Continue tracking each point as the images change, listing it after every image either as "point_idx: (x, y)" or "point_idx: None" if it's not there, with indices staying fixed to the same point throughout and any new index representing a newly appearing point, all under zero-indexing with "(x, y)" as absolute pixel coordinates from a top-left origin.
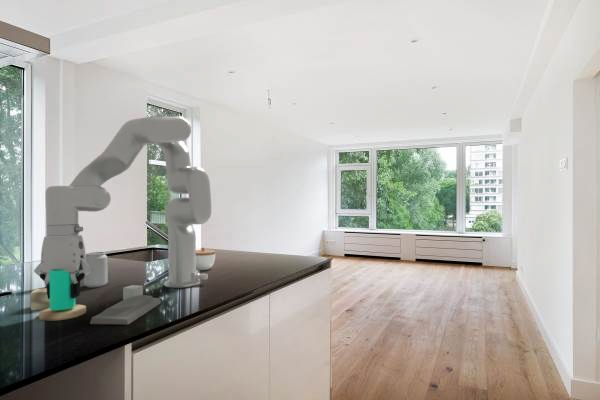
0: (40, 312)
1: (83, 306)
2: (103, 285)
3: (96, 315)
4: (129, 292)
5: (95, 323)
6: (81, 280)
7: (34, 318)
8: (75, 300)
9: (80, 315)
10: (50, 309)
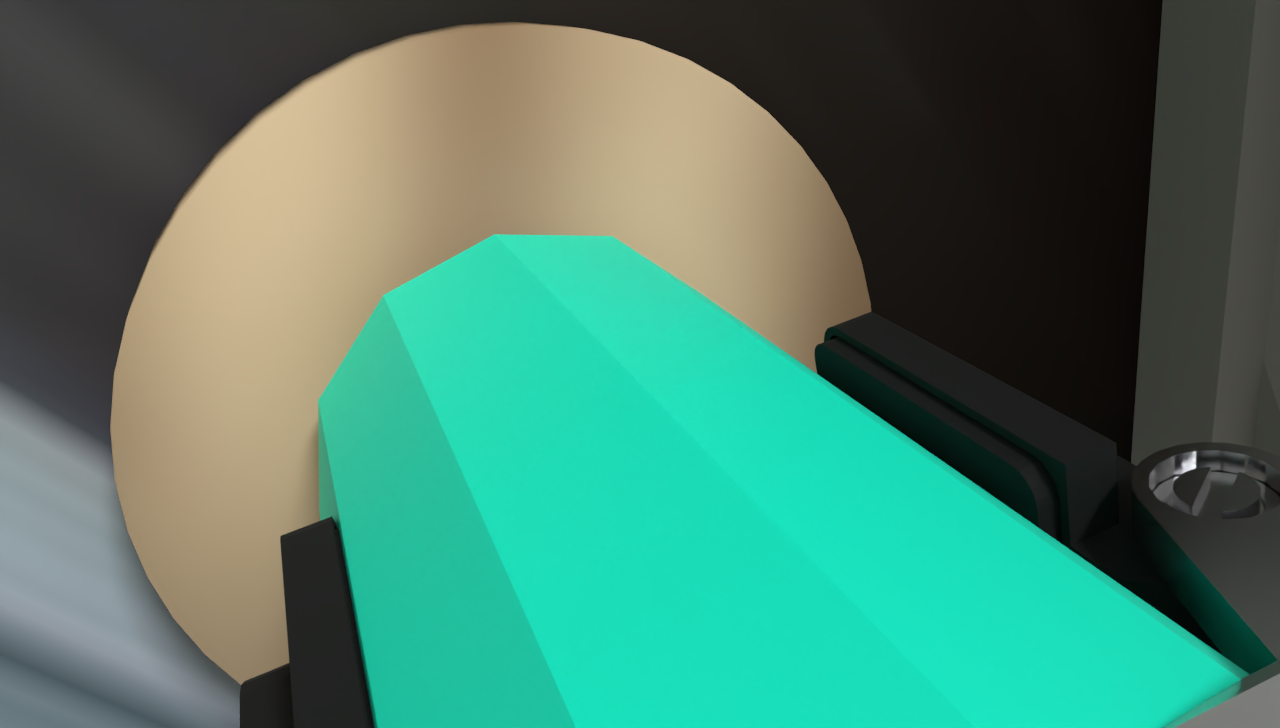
0: (258, 671)
1: (735, 135)
2: None
3: None
4: None
5: None
6: (1237, 474)
7: (226, 701)
8: (745, 324)
9: None
10: (260, 487)
